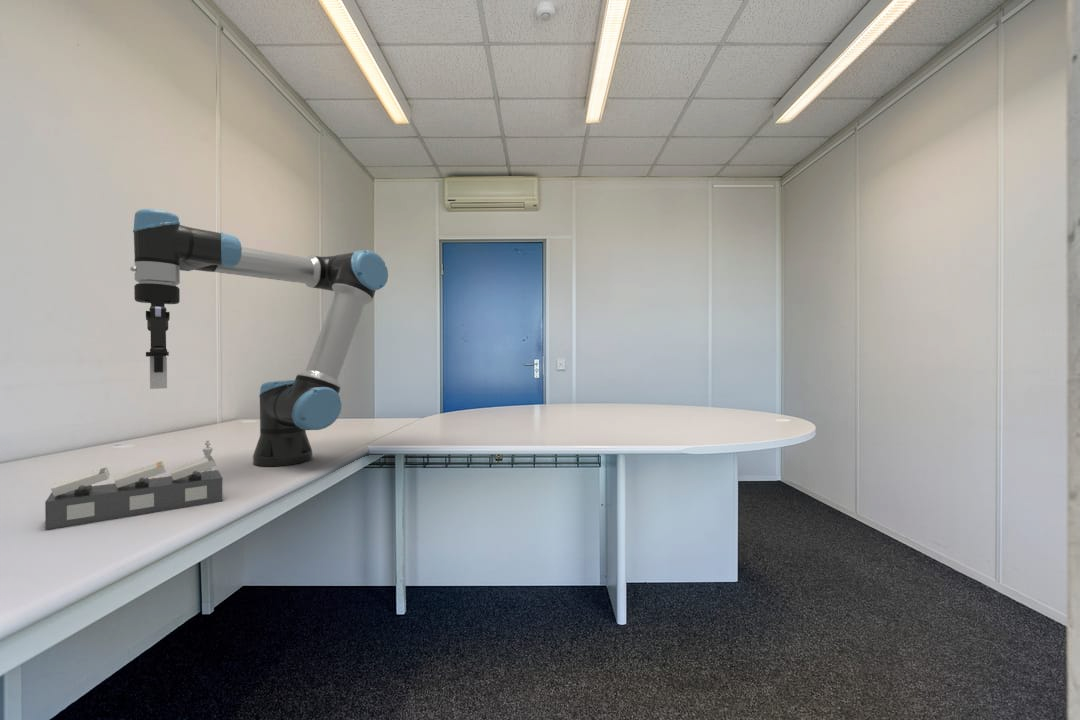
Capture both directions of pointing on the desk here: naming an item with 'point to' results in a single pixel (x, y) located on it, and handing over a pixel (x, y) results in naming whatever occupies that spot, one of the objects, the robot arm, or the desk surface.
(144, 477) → the rocker
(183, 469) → the rocker
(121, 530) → the desk surface
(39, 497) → the desk surface
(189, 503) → the rocker switch box
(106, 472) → the rocker
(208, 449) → the chess piece
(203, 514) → the desk surface
